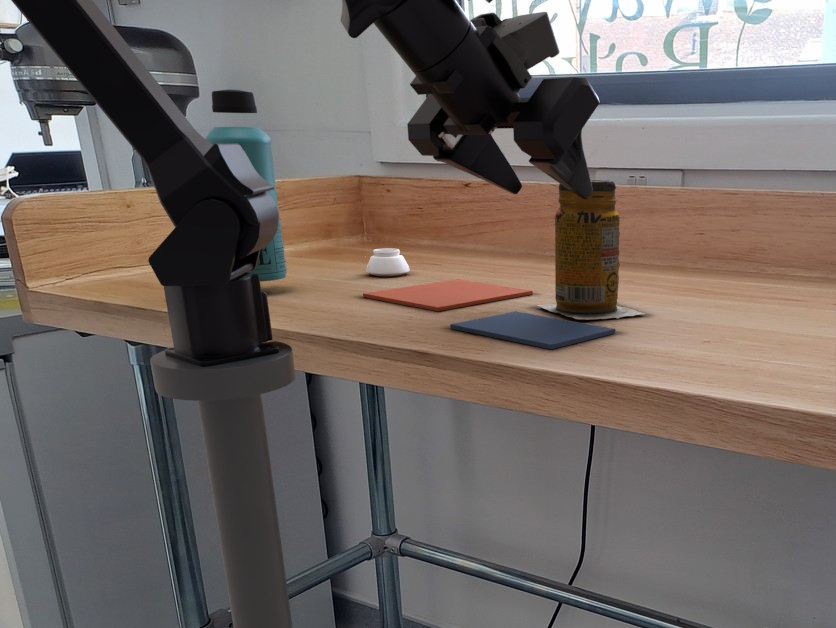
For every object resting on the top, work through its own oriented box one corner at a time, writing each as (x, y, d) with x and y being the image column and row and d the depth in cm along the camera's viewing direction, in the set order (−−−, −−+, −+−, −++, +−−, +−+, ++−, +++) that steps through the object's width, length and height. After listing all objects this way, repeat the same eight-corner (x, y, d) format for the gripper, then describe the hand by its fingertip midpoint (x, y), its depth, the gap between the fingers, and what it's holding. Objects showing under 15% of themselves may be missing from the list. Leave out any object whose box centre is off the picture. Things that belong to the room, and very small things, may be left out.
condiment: (601, 301, 87) (601, 178, 83) (645, 315, 80) (648, 182, 76) (536, 307, 84) (533, 179, 80) (576, 323, 77) (576, 183, 73)
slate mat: (551, 349, 67) (551, 344, 67) (450, 328, 74) (450, 324, 74) (615, 333, 73) (615, 328, 73) (515, 315, 80) (515, 311, 80)
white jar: (362, 277, 101) (404, 277, 101) (360, 252, 100) (402, 252, 100) (373, 271, 106) (413, 271, 106) (370, 247, 105) (411, 247, 105)
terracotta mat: (438, 311, 82) (437, 307, 82) (362, 297, 89) (362, 293, 89) (532, 294, 91) (532, 290, 91) (458, 282, 98) (457, 279, 98)
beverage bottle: (277, 284, 96) (253, 92, 89) (299, 292, 91) (276, 89, 84) (217, 290, 92) (187, 89, 85) (237, 299, 87) (207, 87, 80)
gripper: (580, -50, 59) (678, 122, 70) (427, -18, 72) (531, 125, 83) (495, 67, 57) (610, 227, 68) (352, 80, 69) (469, 213, 80)
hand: (552, 192), depth 75 cm, fingers open, 9 cm apart
